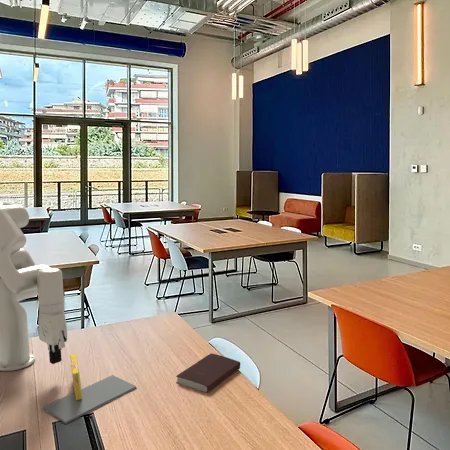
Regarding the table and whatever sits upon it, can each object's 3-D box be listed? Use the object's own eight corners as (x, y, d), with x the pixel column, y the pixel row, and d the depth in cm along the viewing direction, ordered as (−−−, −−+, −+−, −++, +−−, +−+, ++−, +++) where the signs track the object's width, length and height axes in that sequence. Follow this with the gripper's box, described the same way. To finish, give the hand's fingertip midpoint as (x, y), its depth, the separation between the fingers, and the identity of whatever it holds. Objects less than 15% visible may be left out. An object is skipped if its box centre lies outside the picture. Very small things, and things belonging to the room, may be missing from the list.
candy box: (72, 379, 140) (70, 354, 140) (79, 377, 141) (77, 353, 140) (74, 400, 125) (72, 373, 125) (82, 399, 126) (79, 371, 125)
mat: (42, 408, 123) (42, 406, 123) (112, 376, 142) (112, 375, 142) (65, 423, 116) (65, 421, 116) (136, 388, 134) (136, 386, 134)
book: (241, 369, 146) (240, 360, 146) (207, 395, 130) (207, 384, 130) (210, 361, 153) (210, 352, 153) (175, 384, 137) (175, 374, 137)
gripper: (28, 305, 140) (33, 360, 142) (53, 315, 130) (57, 372, 133) (50, 300, 145) (54, 352, 148) (75, 308, 136) (79, 364, 138)
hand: (55, 362), depth 140 cm, fingers closed
